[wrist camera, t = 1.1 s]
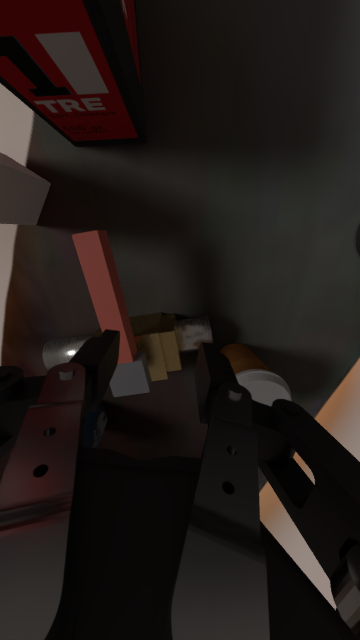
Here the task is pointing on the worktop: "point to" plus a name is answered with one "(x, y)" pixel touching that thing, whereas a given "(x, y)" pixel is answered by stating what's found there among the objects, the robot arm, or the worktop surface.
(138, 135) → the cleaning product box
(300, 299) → the worktop surface
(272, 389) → the disposable coffee cup
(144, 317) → the pipe valve
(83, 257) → the lever
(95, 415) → the soda can
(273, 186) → the worktop surface
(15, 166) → the milk
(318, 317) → the worktop surface
